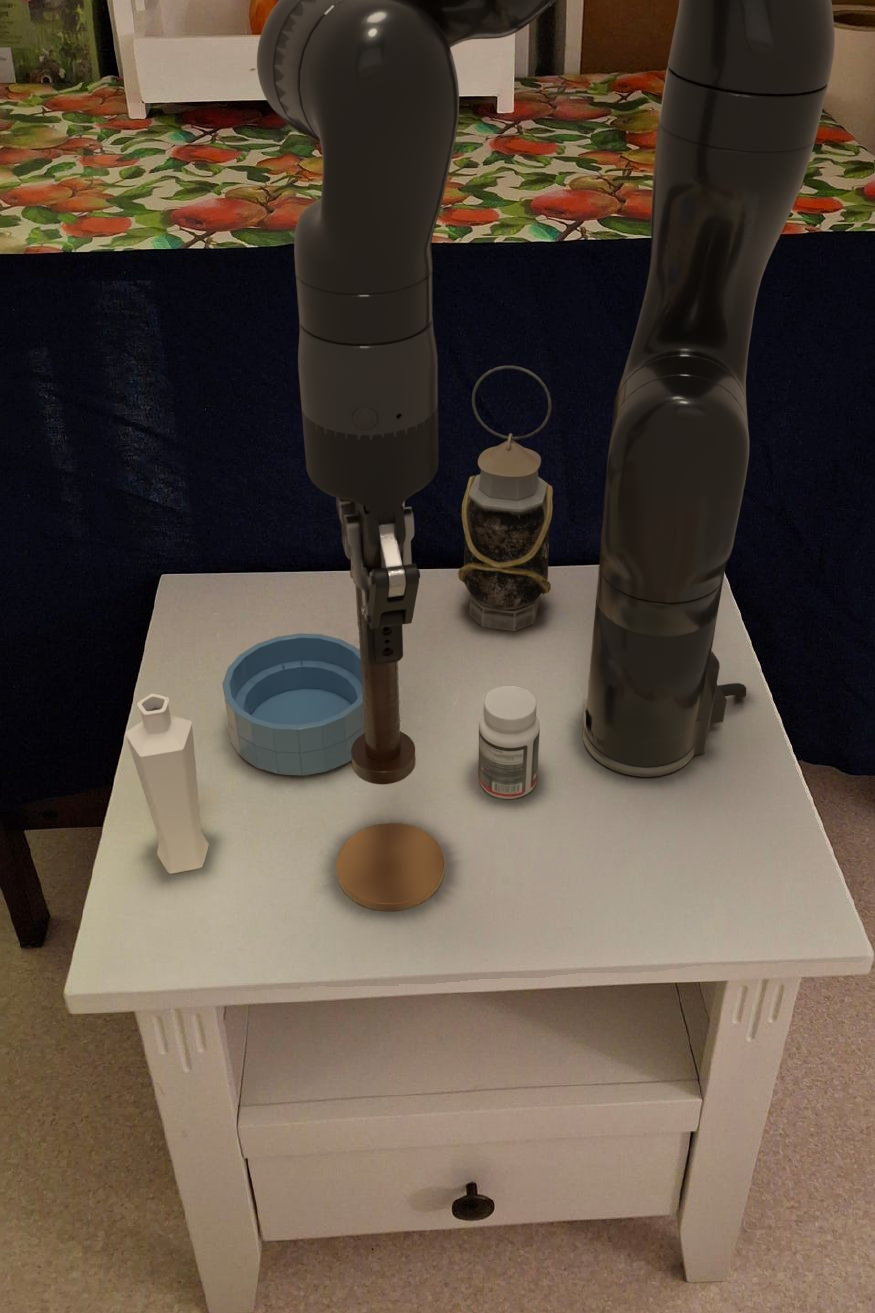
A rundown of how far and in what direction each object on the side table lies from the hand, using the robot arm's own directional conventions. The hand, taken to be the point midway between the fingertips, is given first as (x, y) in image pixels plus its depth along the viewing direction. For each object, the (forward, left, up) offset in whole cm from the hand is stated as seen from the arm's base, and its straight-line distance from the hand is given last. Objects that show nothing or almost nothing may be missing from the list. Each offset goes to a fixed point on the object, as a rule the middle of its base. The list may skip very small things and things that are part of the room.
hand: (380, 644), depth 77 cm
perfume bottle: (+15, -5, -21) cm, 27 cm away
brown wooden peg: (0, 0, -10) cm, 10 cm away
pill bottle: (-11, -7, -21) cm, 25 cm away
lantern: (-17, -29, -21) cm, 40 cm away
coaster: (0, 0, -21) cm, 21 cm away
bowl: (+4, -17, -21) cm, 27 cm away
